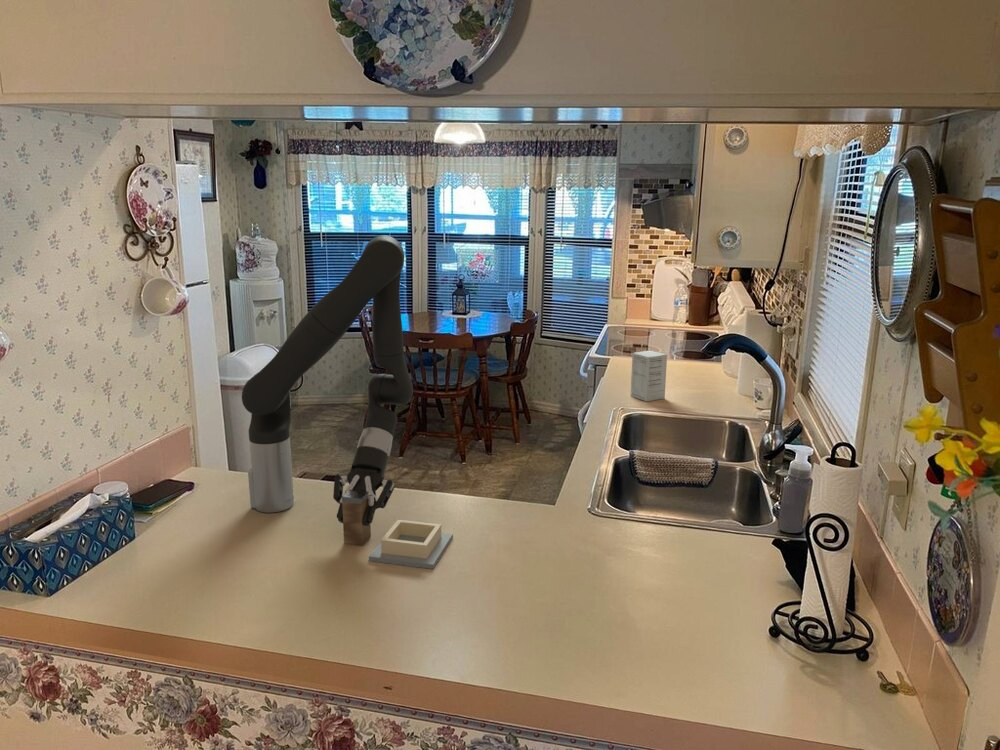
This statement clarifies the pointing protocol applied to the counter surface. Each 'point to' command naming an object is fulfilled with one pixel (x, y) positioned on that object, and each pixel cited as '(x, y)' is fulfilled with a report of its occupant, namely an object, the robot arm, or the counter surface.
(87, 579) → the counter surface
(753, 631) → the counter surface
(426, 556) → the jig
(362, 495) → the tall grey-topped block
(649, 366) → the supplement box
